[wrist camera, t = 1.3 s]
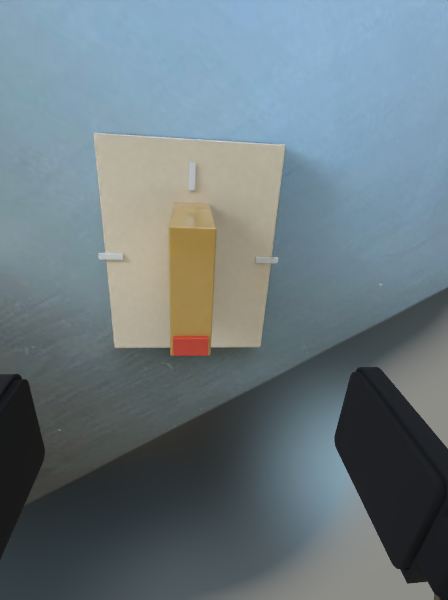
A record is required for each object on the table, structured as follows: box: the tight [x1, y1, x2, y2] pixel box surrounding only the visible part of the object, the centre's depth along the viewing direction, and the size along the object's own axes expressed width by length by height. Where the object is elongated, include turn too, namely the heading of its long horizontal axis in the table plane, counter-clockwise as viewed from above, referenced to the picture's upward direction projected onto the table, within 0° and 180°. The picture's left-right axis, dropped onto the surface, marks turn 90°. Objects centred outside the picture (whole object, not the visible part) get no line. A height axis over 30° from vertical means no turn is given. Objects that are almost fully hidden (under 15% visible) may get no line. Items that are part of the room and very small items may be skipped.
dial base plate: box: [94, 133, 286, 348], centre depth 22 cm, size 13×11×3 cm
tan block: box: [169, 203, 217, 356], centre depth 18 cm, size 6×2×6 cm, turn 177°
